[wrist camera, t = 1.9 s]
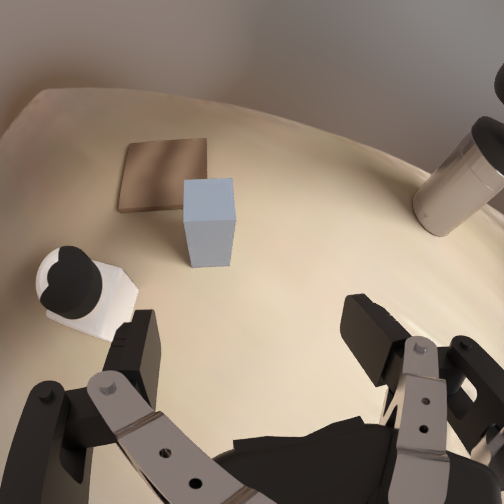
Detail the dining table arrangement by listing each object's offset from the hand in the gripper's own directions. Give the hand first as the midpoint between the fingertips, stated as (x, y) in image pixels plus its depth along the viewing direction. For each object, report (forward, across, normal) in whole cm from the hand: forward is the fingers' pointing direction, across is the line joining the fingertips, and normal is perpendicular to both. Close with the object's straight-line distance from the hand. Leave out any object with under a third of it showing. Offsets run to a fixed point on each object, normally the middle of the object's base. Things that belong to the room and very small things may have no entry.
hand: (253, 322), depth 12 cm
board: (+32, +7, -3) cm, 33 cm away
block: (+24, +1, +6) cm, 25 cm away
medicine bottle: (+19, +14, +11) cm, 26 cm away
